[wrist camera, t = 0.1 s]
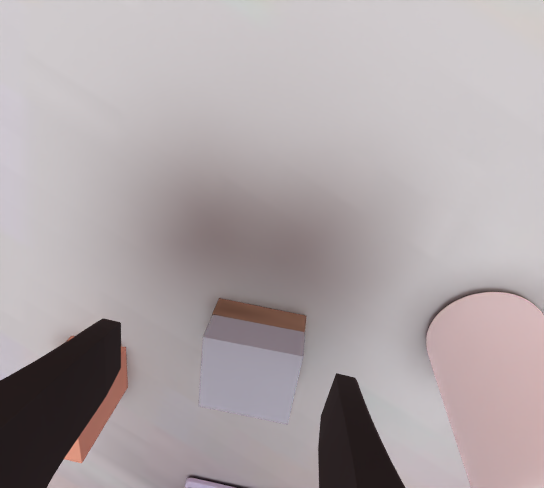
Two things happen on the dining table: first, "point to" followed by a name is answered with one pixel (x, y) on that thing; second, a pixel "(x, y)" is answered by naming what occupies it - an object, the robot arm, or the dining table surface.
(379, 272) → the dining table surface
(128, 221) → the dining table surface
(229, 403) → the tower upper
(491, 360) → the can
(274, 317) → the tower lower
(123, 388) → the brick block
